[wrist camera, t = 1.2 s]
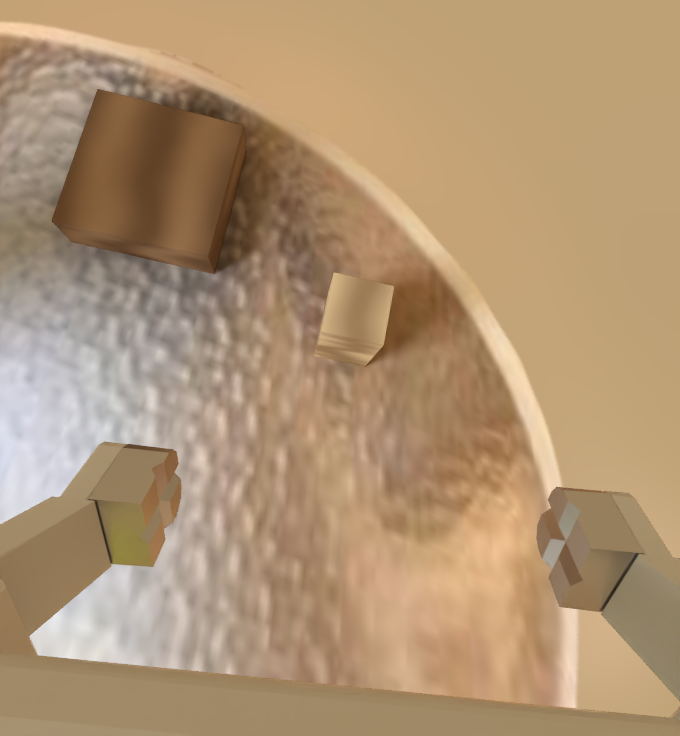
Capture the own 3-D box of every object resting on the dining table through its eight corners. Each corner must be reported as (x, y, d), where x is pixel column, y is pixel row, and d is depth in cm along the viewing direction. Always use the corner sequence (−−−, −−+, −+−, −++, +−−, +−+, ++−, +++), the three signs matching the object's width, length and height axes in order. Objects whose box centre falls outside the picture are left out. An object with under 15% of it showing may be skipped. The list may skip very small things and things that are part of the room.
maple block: (314, 355, 41) (321, 331, 33) (324, 307, 41) (333, 272, 34) (364, 366, 41) (383, 344, 33) (373, 318, 42) (394, 286, 34)
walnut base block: (73, 243, 40) (51, 220, 36) (114, 122, 43) (97, 89, 39) (215, 275, 41) (207, 256, 37) (247, 155, 44) (243, 125, 40)
